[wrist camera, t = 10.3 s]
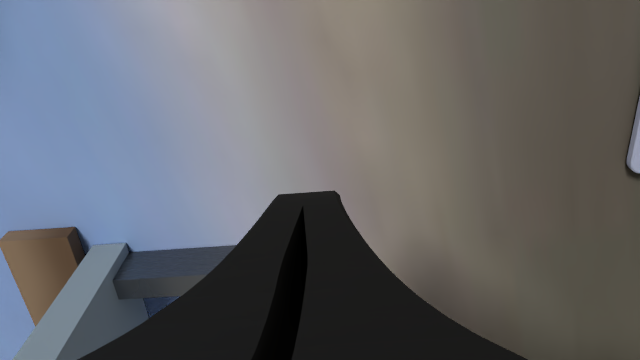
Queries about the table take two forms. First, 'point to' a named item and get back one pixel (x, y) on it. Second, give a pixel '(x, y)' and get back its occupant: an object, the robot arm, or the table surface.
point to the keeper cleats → (166, 271)
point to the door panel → (85, 310)
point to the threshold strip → (42, 264)
